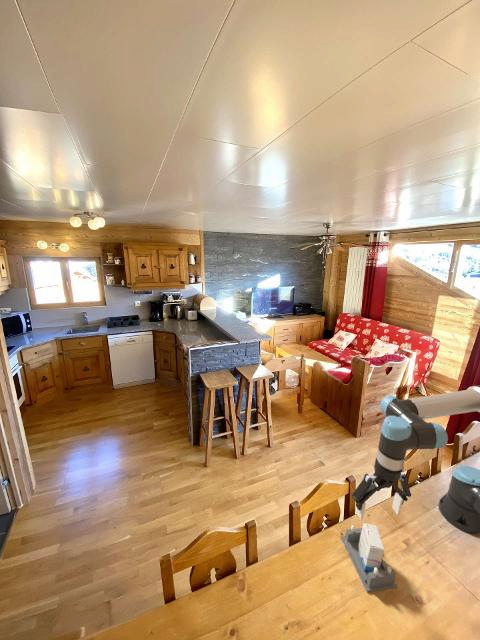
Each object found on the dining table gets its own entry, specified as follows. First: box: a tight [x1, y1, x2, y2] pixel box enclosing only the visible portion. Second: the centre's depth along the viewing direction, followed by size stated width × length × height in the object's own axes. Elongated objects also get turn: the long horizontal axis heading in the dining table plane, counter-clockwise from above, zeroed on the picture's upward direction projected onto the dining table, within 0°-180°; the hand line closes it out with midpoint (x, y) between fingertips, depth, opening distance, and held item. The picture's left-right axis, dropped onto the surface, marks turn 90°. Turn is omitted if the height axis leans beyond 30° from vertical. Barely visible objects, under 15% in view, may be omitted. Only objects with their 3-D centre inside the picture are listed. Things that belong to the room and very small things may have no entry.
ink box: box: [358, 522, 385, 572], centre depth 94 cm, size 9×5×12 cm, turn 171°
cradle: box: [340, 524, 398, 593], centre depth 95 cm, size 11×17×8 cm, turn 8°
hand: (377, 513), depth 90 cm, fingers open, 13 cm apart
